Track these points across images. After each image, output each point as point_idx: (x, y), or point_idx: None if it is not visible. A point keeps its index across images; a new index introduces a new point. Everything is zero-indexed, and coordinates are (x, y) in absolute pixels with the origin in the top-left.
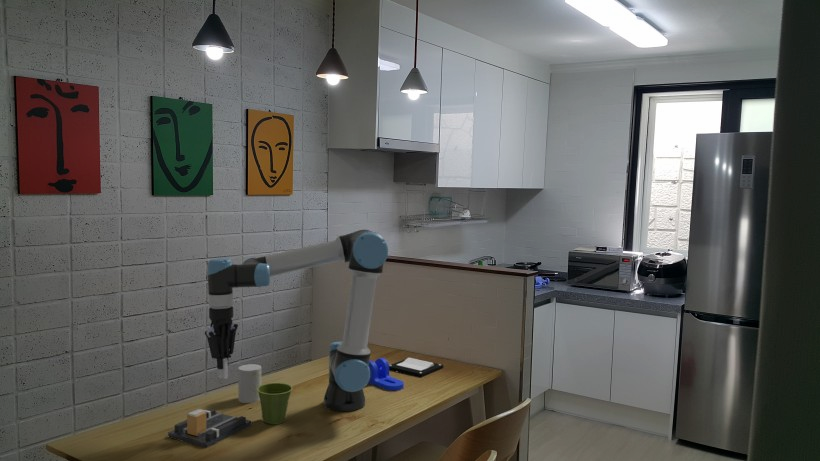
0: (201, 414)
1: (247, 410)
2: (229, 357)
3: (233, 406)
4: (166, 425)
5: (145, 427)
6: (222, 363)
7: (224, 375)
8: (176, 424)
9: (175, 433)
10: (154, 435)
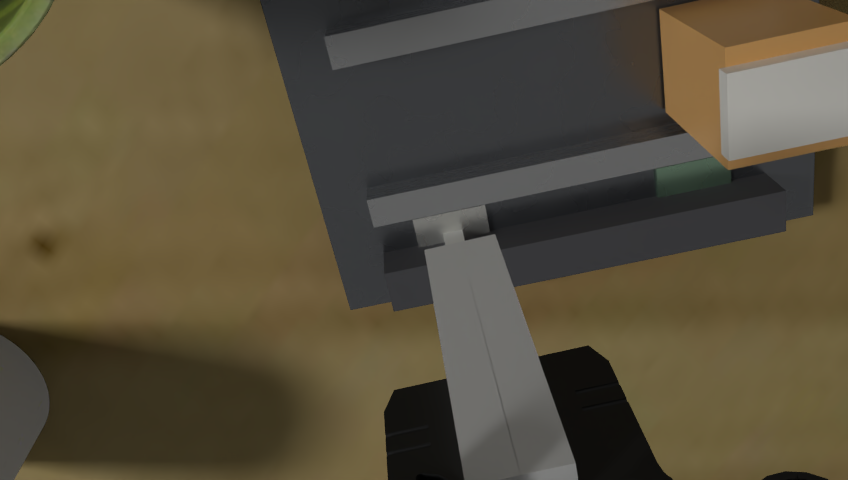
0: (785, 42)
1: (90, 221)
2: (438, 470)
3: (137, 355)
4: (661, 369)
5: (753, 421)
6: (570, 422)
7: (505, 267)
8: (771, 229)
9: (801, 161)
10: (818, 284)
